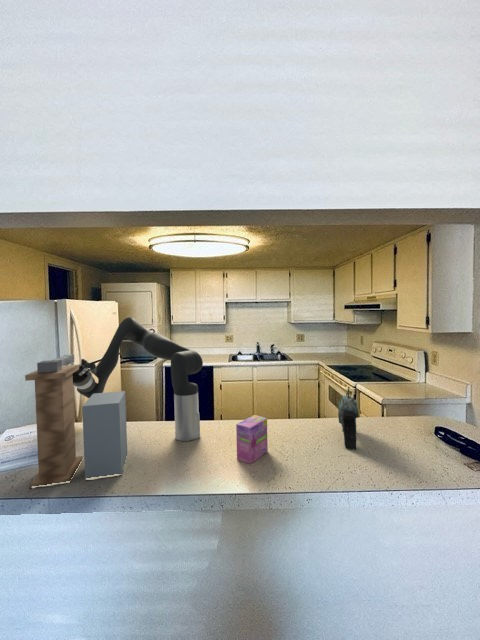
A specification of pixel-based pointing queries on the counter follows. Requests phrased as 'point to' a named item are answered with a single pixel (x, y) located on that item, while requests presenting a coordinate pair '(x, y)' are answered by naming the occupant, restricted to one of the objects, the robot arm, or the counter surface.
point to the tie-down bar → (54, 364)
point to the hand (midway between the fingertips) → (68, 362)
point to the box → (251, 438)
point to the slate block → (104, 434)
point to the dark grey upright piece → (348, 419)
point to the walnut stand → (55, 426)
